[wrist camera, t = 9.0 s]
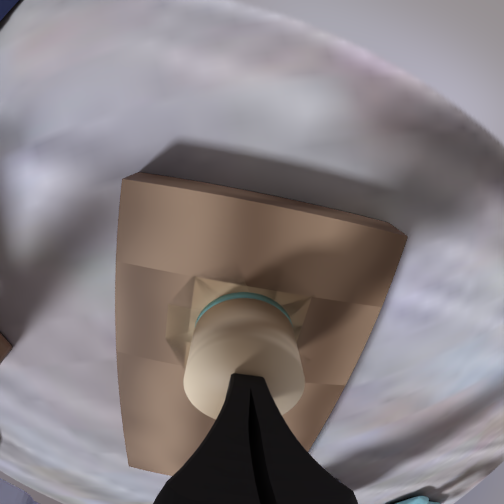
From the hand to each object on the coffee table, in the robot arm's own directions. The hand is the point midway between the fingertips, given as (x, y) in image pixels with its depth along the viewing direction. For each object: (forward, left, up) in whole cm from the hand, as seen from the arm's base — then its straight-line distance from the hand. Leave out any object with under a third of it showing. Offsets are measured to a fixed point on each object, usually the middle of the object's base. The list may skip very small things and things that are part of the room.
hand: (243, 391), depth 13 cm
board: (0, +5, -7) cm, 8 cm away
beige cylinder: (0, 0, -7) cm, 7 cm away
